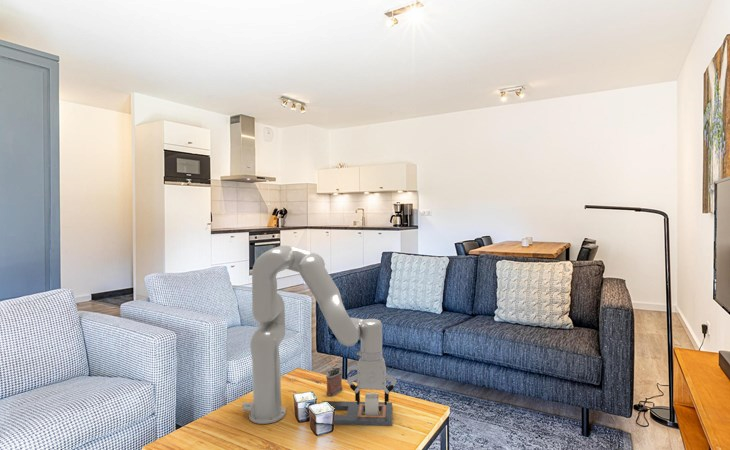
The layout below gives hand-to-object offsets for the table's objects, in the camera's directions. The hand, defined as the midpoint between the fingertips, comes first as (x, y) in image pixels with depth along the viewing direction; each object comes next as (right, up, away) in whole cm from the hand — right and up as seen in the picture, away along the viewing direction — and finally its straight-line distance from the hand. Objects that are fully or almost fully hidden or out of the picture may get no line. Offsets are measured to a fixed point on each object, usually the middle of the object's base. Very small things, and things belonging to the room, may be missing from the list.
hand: (372, 403), depth 146 cm
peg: (0, -4, 0) cm, 4 cm away
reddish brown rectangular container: (-15, -4, +19) cm, 24 cm away
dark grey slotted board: (-6, -4, +1) cm, 7 cm away
